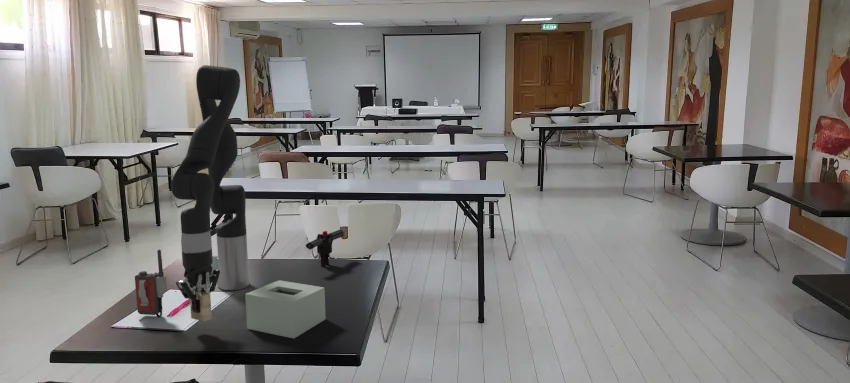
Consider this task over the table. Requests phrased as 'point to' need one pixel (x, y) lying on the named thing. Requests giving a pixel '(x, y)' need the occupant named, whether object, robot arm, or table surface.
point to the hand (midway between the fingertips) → (200, 310)
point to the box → (285, 308)
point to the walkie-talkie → (150, 290)
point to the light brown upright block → (203, 308)
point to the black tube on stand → (324, 245)
